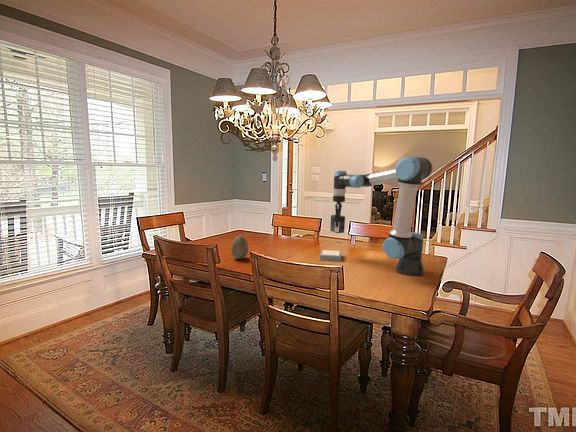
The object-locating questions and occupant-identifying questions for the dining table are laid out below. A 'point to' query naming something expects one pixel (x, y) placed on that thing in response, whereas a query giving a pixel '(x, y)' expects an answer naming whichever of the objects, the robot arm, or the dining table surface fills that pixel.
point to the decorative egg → (239, 247)
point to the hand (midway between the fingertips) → (337, 230)
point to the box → (341, 224)
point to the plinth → (330, 255)
